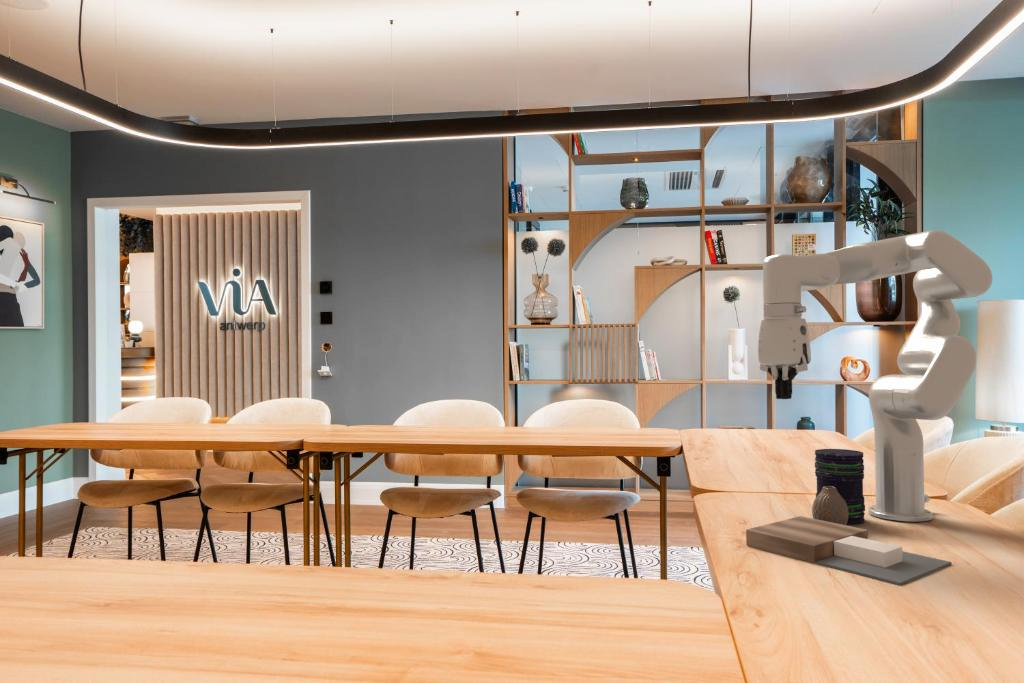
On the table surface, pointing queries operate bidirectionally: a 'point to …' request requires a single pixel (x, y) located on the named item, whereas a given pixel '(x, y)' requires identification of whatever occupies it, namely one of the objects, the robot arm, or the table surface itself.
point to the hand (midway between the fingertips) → (783, 398)
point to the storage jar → (843, 478)
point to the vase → (830, 506)
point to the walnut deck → (801, 537)
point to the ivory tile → (868, 551)
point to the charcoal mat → (889, 567)
